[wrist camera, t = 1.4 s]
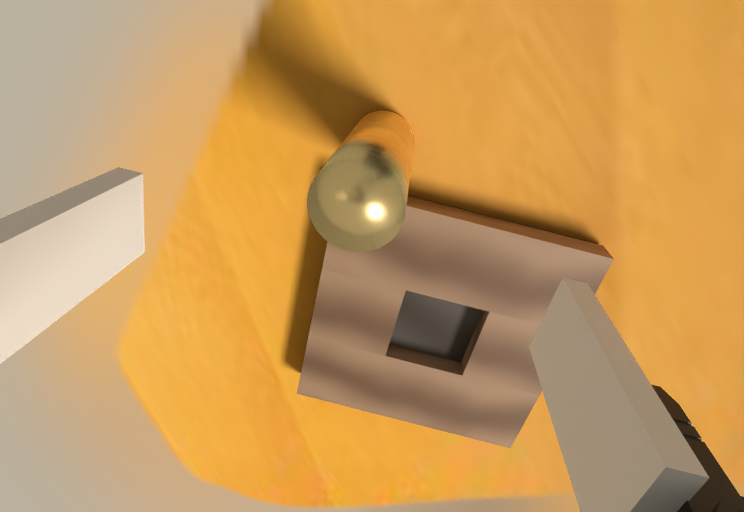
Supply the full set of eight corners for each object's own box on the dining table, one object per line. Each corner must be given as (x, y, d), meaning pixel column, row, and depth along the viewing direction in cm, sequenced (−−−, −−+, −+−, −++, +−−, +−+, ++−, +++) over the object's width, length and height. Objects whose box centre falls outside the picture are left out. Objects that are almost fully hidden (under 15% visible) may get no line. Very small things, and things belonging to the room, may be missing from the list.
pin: (359, 103, 28) (315, 146, 17) (421, 119, 28) (417, 172, 17) (346, 164, 30) (300, 238, 19) (405, 179, 30) (392, 262, 19)
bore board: (343, 178, 30) (338, 188, 28) (602, 245, 30) (613, 259, 28) (302, 376, 38) (296, 393, 36) (506, 428, 38) (510, 448, 36)
